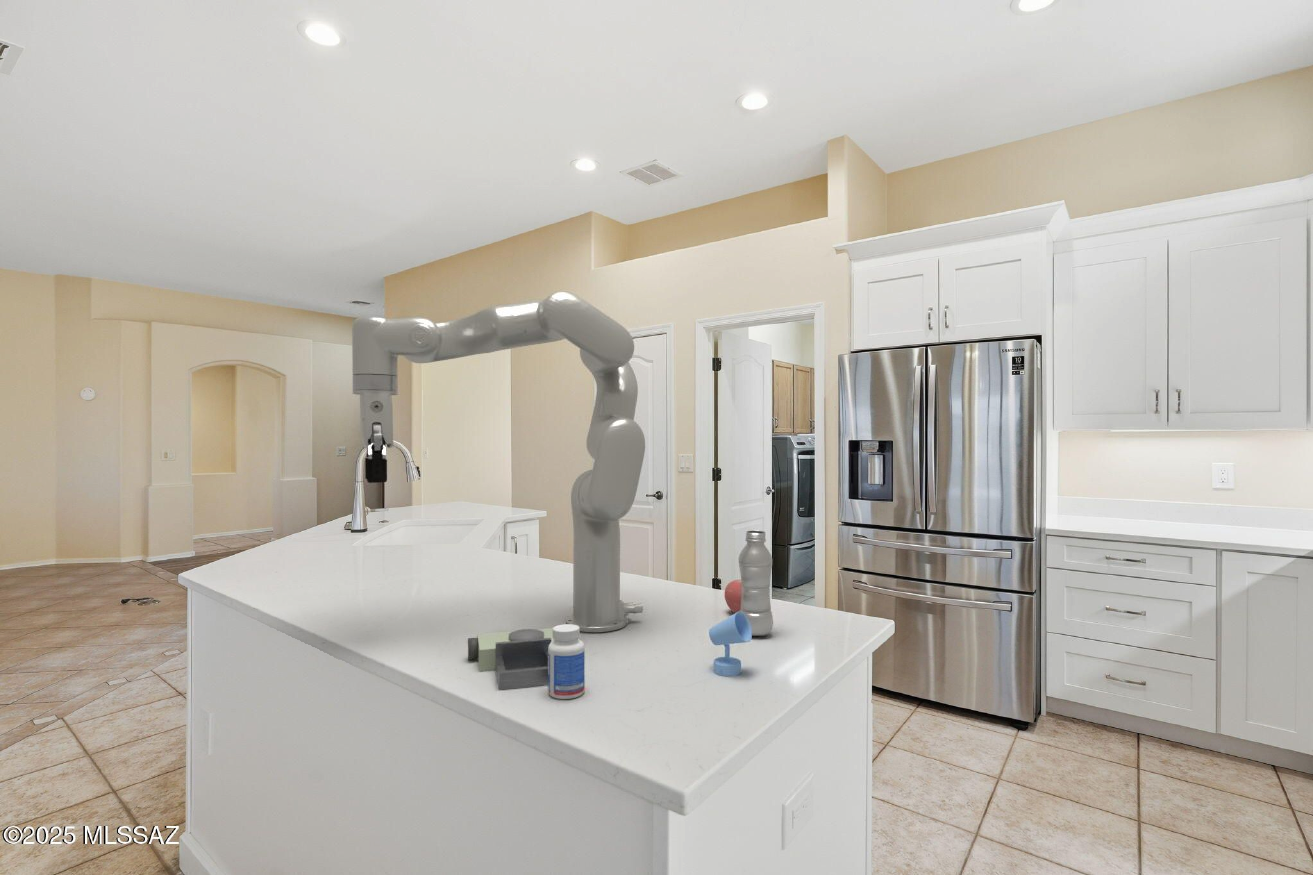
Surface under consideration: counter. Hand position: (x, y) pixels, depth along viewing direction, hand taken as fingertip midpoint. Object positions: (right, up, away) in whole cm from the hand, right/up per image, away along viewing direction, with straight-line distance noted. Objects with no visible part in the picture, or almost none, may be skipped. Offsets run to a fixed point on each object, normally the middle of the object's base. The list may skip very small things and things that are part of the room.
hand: (375, 480), depth 119 cm
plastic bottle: (+70, -31, +8) cm, 77 cm away
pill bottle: (+37, -31, -21) cm, 53 cm away
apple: (+69, -31, +24) cm, 80 cm away
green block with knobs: (+27, -30, -6) cm, 41 cm away
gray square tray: (+30, -30, -14) cm, 45 cm away
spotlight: (+63, -31, -12) cm, 71 cm away
